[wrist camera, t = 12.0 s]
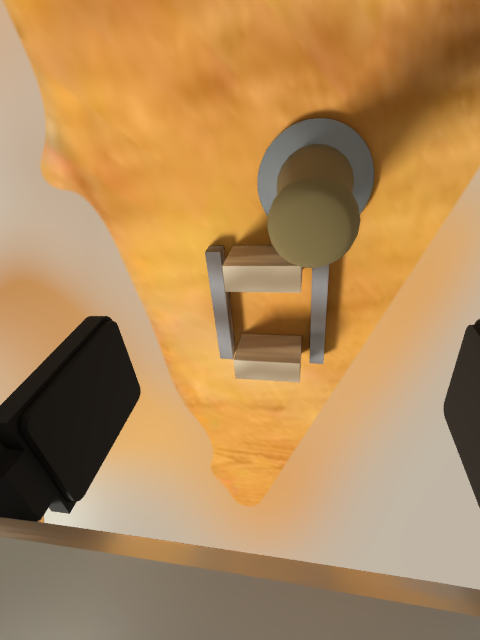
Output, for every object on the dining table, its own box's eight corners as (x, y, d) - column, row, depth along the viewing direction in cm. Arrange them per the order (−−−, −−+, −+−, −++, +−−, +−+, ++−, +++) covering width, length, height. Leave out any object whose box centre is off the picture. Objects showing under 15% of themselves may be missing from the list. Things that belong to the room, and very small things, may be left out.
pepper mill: (370, 169, 26) (397, 212, 17) (324, 236, 30) (326, 301, 21) (302, 127, 26) (293, 149, 17) (263, 200, 29) (237, 251, 20)
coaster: (255, 122, 27) (254, 123, 26) (380, 112, 25) (381, 113, 24) (261, 236, 31) (260, 239, 31) (366, 235, 30) (367, 237, 29)
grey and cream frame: (209, 246, 33) (195, 266, 29) (329, 244, 31) (331, 266, 27) (223, 350, 40) (213, 376, 36) (323, 354, 37) (323, 383, 34)
